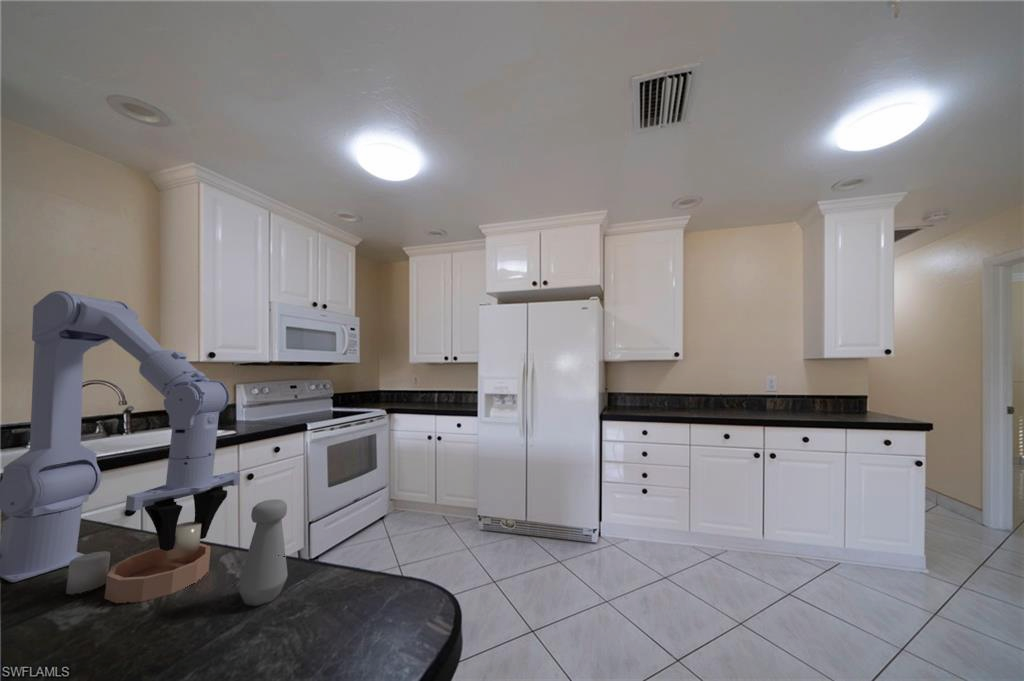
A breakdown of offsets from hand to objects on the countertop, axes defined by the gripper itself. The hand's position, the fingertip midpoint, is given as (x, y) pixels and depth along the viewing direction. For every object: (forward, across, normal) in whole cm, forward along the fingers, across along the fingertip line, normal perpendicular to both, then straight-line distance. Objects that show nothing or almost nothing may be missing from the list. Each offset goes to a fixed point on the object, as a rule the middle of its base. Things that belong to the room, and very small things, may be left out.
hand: (183, 543), depth 59 cm
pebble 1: (+4, -8, +8) cm, 12 cm away
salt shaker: (+5, 0, -18) cm, 19 cm away
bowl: (+4, -2, 0) cm, 5 cm away
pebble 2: (+2, 0, 0) cm, 2 cm away
